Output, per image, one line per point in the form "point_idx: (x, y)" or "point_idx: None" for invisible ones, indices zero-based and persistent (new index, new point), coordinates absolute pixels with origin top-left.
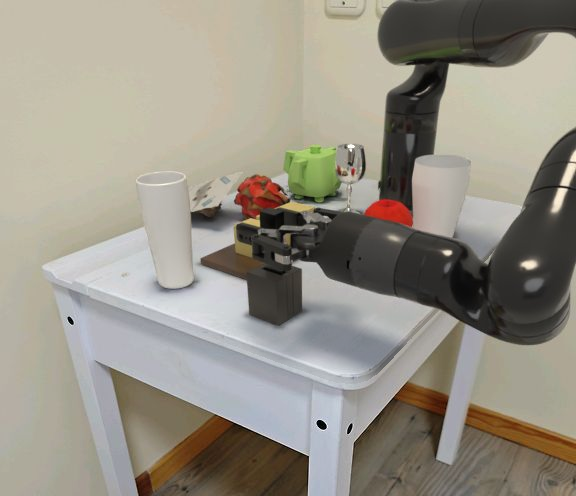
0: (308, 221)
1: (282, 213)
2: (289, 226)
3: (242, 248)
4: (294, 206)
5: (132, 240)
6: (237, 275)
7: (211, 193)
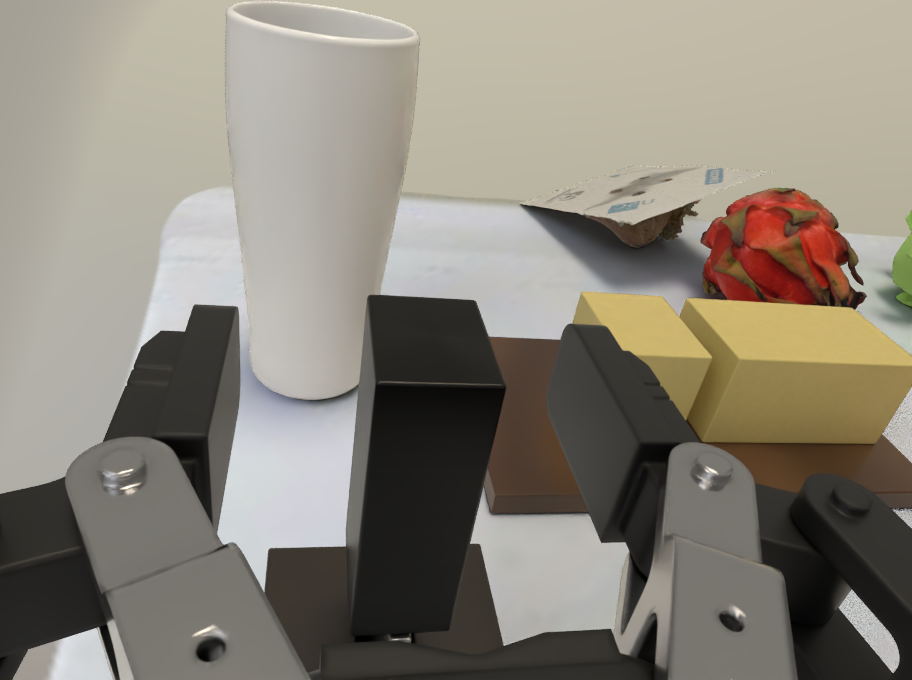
0: (652, 593)
1: (480, 398)
2: (246, 632)
3: None
4: (847, 328)
5: (414, 217)
6: None
7: (655, 192)
